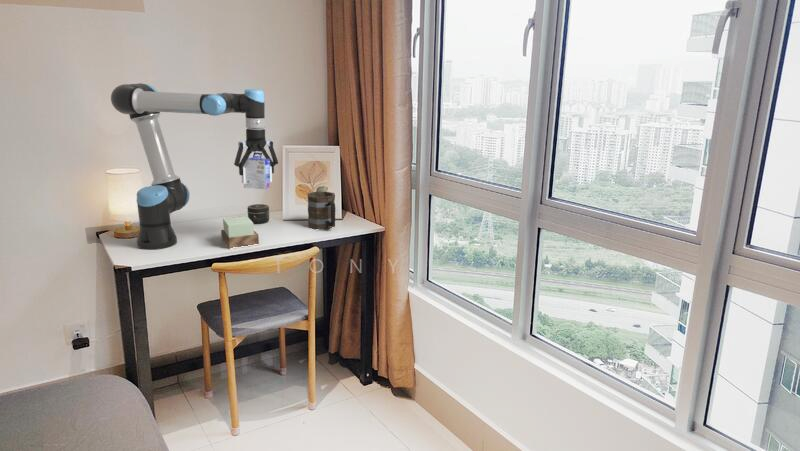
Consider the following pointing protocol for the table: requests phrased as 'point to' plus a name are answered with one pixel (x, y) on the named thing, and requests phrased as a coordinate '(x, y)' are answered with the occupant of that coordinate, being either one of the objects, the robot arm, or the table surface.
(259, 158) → the ink cartridge box
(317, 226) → the mug
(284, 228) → the table surface
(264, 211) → the jar
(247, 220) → the sage top block
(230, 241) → the walnut base block
